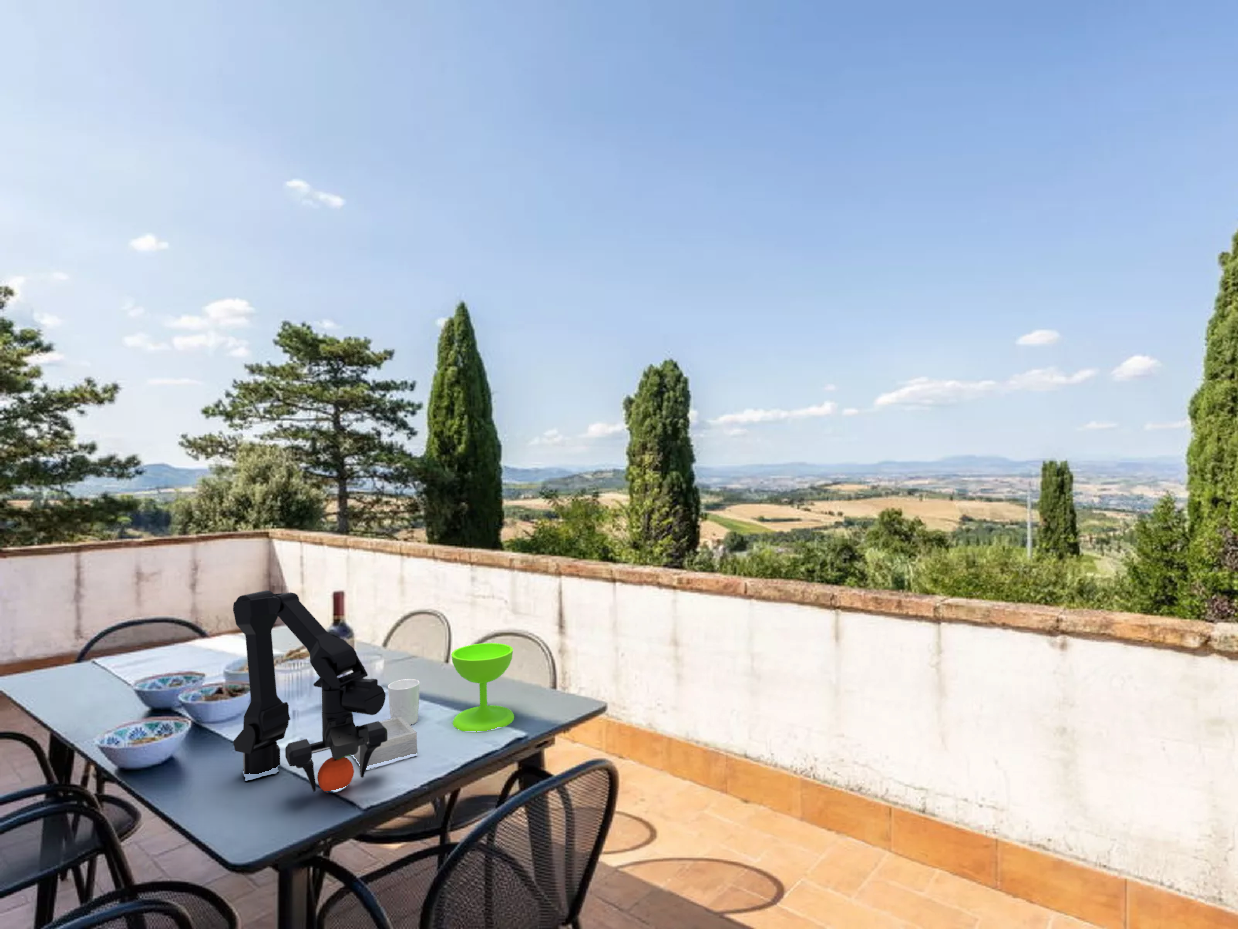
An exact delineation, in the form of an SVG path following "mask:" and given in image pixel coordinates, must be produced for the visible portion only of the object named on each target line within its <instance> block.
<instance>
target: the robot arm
mask: <svg viewBox="0 0 1238 929" xmlns="http://www.w3.org/2000/svg"><path fill="white" fill-rule="evenodd" d="M232 611H233V612H232V613H233V617H234V620H235V625H236V626H237V627H238V629H239V630H240V631H241V632H242V633H243V634H244V637H245V646H246V648H245V649H246V658H247V659H246V660H247V670H248V681H249V694H250V702H249V704H248V706H247V708H246V710H245V713H244V715H243V726H242V727H243V729H242V730H241V731H240V732H239V733H238V735H237V736H236V737H235V738H234V739H233V741H232V744H233V746H234V751H235V752H237V753H238V752H239V753H242V760H243V761H242V764H243V765H242V767H243V768H242V769H243V771H244V774H249V773H250V774H259V773H262V772H265V771H269V770H271V769H272V768H276V767H277V766H278V765H280V766H281V749H280V748H281V747H280V746H279V744H278V742H277V741H280V740H282V739H284V738H285V735H286V731H287V729H288V728H289V723H290V722H289V721H290V720H291V717H290V712H289V706H290V705H289V703H288V702H287V701H285V702H283V701H282V699H281V698H280V697H279V696H278V694H277V682H276V680H277V679H276V671H275V670H276V668H275V659H274V658H275V657H274V647H273V634H272V631H273V628H274V626H275V624H276V622H277V621H278V620H277V619H278V618H279V619H280V620H281V621H282V622H283V623H284V625H285V626H286V627H287V628H288V629H289V630H290V631H291V632H292V633H293V635H294V637H296V639H297V640H298V641H299V642H300V643H301V644H302V645H303V646H304V648H305V649H306V650H307V651H308V653H309V663H310V665H311V666H312V668H313V669H314V672H316V675H317V676H318V677H319V678H318V679H317V680H316V681H315V682H314V683H313V687H315V688H321V727H322V732H321V735H322V738H321V739H322V740H320V741H316V742H313V743H310V742H309V740H308V739H307V738H305V739H300V740H297V741H293V742H289V743H287V745H286V746H285V748H284V751H285V752H284V754H285V755H284V757H285V759H286V761H287V763H288V766H289V767H296V768H297V769H303V770H304V772H305V774H306V777H307V779H308V782H309V784H310V787H311V789H312V792H313V793H315V792H317V791H316V790H317V789H316V788H317V785H316V784H317V783H316V777H315V776H316V775H315V771H314V770H315V769H314V761H313V759H312V757H313V754H316V753H320V752H324V751H329V750H330V752H331V757H333V758H334V759H339V758H342V757H344V756H346V757H348V756H347V755H354V754H356V753H357V752H358V747H359V746H360V766H358V769H359V776H360V778H361V779H362V778H364V777H365V773H366V768H367V765H368V762H369V759H370V757H371V754H372V752H373V751H374V750H375V749H376V748H377V747H380V746H381V743H382V742H386V741H387V729H386V728H385V727H384V726H383V725H382V723H380V721H379V720H377V721H373V722H370V723H365V724H362V725H356V724H355V722H354V715H353V713H356V714H361V715H369V716H374V715H378V713H379V712H380V711H381V710H382V709H383V707H384V705H385V701H386V697H387V696H386V692H385V689H384V687H382V686H381V685H379V681H378V678H366V677H368V675H369V674H368V672H367V671H366V669H365V666H364V665H363V664H362V661H361V660H360V658H359V656H358V655H357V651H356V650H355V648H354V647H353V646H352V645H350V643H348V642H347V641H346V640H344V639H343V638H340V637H337V636H334V635H332V634H331V633H329V631H327V630H326V629H325V628H324V626H323V625H322V624H321V623H320V622H319V621H318V620H317V618H315V616H314V615H313V614H312V613H311V612H310V610H308V608H306V607H305V605H304V604H303V603H302V602H301V601H300V598H299V595H298V594H297V593H295V592H291V591H290V592H280V593H273V591H271V590H267V589H265V590H261V591H258V592H252V593H246V594H243V595H240V596H238V597H237V598H236V600H235V601H234V602H233V606H232ZM351 671H352V672H351ZM349 672H350V673H349ZM346 673H348V674H346ZM344 674H345V675H344ZM342 675H343V676H342ZM340 676H341V677H340Z"/></svg>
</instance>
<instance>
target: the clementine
mask: <svg viewBox="0 0 1238 929" xmlns="http://www.w3.org/2000/svg"><path fill="white" fill-rule="evenodd" d="M348 757H352V758H353V756H351V755H347V756H344V757H342V758H339V759H334V758H333V757H332V756H331V757H329V758H328V759H326V760H325V761H324V762H323V763H322V764H321V765H320V767H319V769H318V772H317V778H316V779H317V784H318V786H319V788H320V789H321V790H322V791H324V792H325V791H331V790H336V789H339V788H343V787H345V786H347V785H348V784H349V785H350V784H351V782H352V780H353V778H354V773H355V768H354V765H353V763H352V761H351V760H350V759H349V758H348ZM355 760H356V759H355ZM355 760H354V761H355ZM349 785H348V786H349ZM348 786H347V787H348Z"/></svg>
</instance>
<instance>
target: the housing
mask: <svg viewBox="0 0 1238 929" xmlns="http://www.w3.org/2000/svg"><path fill="white" fill-rule="evenodd" d="M379 722H380V723H382V725H383V726H384V727H385V728H386V729H387V741H386V742H382V743H381V746H380V747H377V748H376V749H375V750H374V751H373V752H372V754H371V757H370V759H369V762H368V765H367V766H369V765H373V764H377V763H381V762H384V761H389V760H392V759H395V758H398V757H404V756H407V755H410V754H416V753H417V754H418V737H417V735H418V734H417V733H418V732H417V731H416V730H415V729H414V728H413V727H412V725H409V724H408V723H407V722H406V721H405V720H404V719H403V718H402V717H401V716H400V717H396V718H392V719H391V718H388V719H385V720H380V721H379ZM354 757H355V758H356V759H357V761H358V762H359V764H360V746H359V747H358V752H357V753H356V754H354Z"/></svg>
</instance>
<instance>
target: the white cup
mask: <svg viewBox="0 0 1238 929" xmlns="http://www.w3.org/2000/svg"><path fill="white" fill-rule="evenodd" d="M420 686H421V684H420V681H419V679H414V678H406V679H405V678H404V679H399V680H395V681H392V682H391V683H389V684H388V685H387V695H388V708H389V715H390V719H392V718H396V717H400V716H401V717H402V718H403V719H404V720H405V721H406V722H407V723H408V724H409V725H410V726H412V725H414V724H416V723H417V722H418V721H419V709H420ZM411 724H412V725H411Z"/></svg>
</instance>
